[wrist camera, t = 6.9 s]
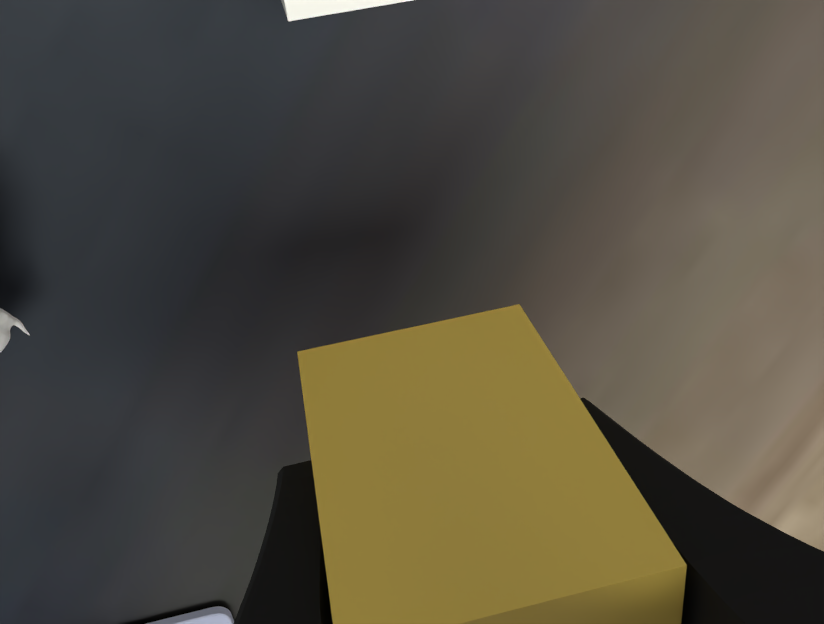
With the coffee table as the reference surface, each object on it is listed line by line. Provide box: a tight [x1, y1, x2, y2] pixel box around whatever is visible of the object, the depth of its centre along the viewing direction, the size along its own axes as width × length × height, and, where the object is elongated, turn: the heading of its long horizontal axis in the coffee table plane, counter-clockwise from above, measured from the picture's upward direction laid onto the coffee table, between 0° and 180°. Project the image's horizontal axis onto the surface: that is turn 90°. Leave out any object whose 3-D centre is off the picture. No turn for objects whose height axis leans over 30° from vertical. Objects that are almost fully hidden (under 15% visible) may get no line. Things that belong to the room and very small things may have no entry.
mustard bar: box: [297, 304, 687, 624], centre depth 12 cm, size 4×4×6 cm
